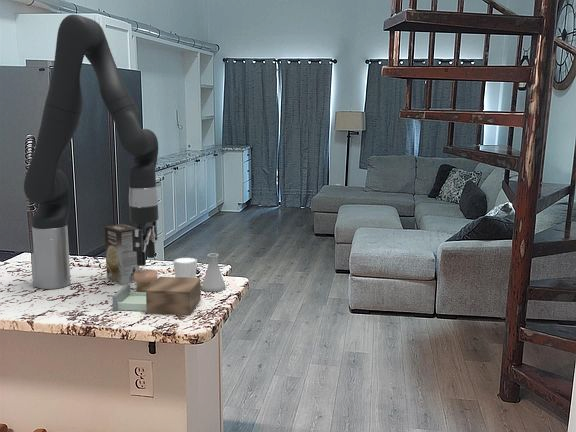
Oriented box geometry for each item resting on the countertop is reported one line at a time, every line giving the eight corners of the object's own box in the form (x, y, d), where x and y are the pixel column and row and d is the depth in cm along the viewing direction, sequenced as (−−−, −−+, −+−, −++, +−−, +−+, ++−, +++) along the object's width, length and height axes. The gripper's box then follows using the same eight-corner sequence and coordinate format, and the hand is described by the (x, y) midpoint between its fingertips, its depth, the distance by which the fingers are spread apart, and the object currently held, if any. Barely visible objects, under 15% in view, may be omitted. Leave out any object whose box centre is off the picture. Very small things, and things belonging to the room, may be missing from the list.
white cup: (175, 279, 172) (174, 257, 170) (198, 279, 172) (198, 257, 171) (172, 286, 165) (171, 263, 164) (196, 286, 166) (196, 263, 164)
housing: (146, 313, 143) (145, 290, 142) (160, 297, 155) (159, 276, 154) (190, 315, 143) (189, 292, 142) (200, 299, 154) (200, 278, 153)
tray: (112, 310, 145) (112, 296, 144) (127, 297, 155) (126, 283, 154) (155, 312, 144) (155, 297, 143) (167, 298, 154) (166, 285, 153)
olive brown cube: (136, 293, 158) (136, 281, 158) (141, 289, 162) (140, 277, 162) (150, 294, 158) (150, 281, 158) (155, 289, 162) (154, 277, 162)
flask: (221, 293, 160) (221, 258, 158) (196, 291, 161) (196, 256, 160) (229, 285, 167) (229, 252, 165) (205, 284, 168) (205, 250, 166)
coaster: (130, 282, 157) (130, 275, 156) (138, 275, 163) (137, 269, 163) (153, 283, 156) (153, 276, 156) (160, 276, 163) (160, 269, 162)
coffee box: (105, 278, 172) (103, 226, 169) (124, 274, 176) (122, 223, 173) (122, 285, 165) (120, 231, 162) (141, 281, 170) (139, 227, 167)
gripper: (138, 199, 163) (141, 255, 166) (120, 207, 149) (124, 268, 152) (164, 199, 163) (166, 255, 165) (149, 208, 149) (152, 268, 151)
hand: (146, 261), depth 159 cm, fingers open, 8 cm apart
